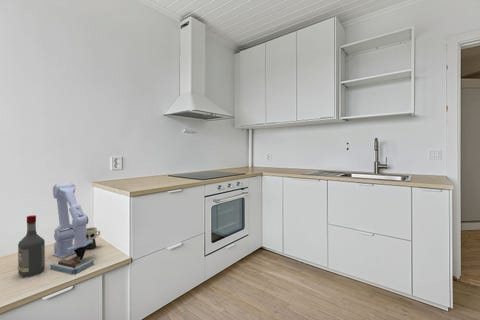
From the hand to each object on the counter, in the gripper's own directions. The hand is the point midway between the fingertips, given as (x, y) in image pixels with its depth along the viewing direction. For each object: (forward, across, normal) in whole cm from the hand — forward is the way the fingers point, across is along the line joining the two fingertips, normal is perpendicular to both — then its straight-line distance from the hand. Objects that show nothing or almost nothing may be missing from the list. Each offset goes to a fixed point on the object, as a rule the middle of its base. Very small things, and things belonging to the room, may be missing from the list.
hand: (80, 259), depth 134 cm
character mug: (+1, +16, +11) cm, 19 cm away
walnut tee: (+1, -5, 0) cm, 5 cm away
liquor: (+1, -17, +12) cm, 21 cm away
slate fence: (+1, -6, -2) cm, 6 cm away
